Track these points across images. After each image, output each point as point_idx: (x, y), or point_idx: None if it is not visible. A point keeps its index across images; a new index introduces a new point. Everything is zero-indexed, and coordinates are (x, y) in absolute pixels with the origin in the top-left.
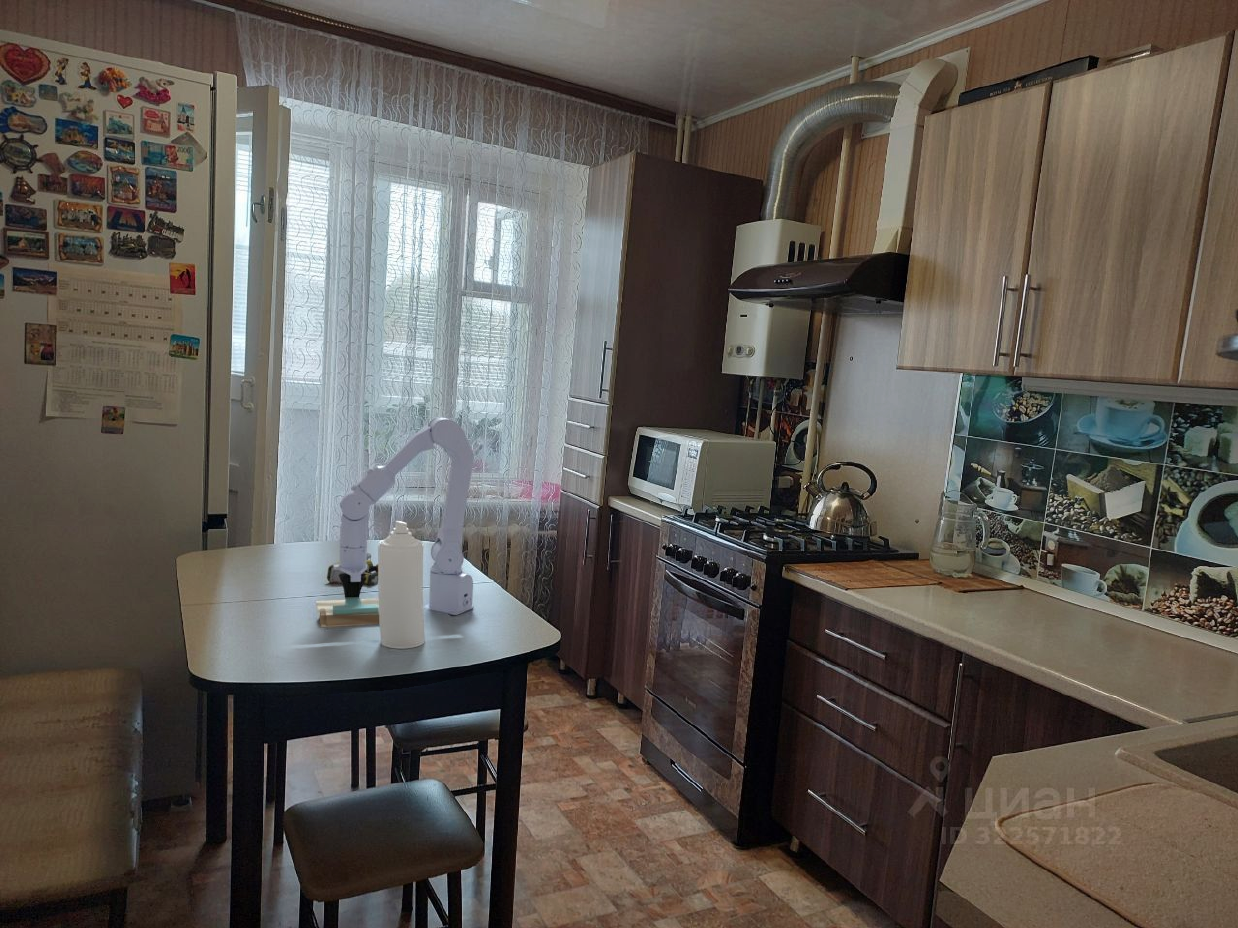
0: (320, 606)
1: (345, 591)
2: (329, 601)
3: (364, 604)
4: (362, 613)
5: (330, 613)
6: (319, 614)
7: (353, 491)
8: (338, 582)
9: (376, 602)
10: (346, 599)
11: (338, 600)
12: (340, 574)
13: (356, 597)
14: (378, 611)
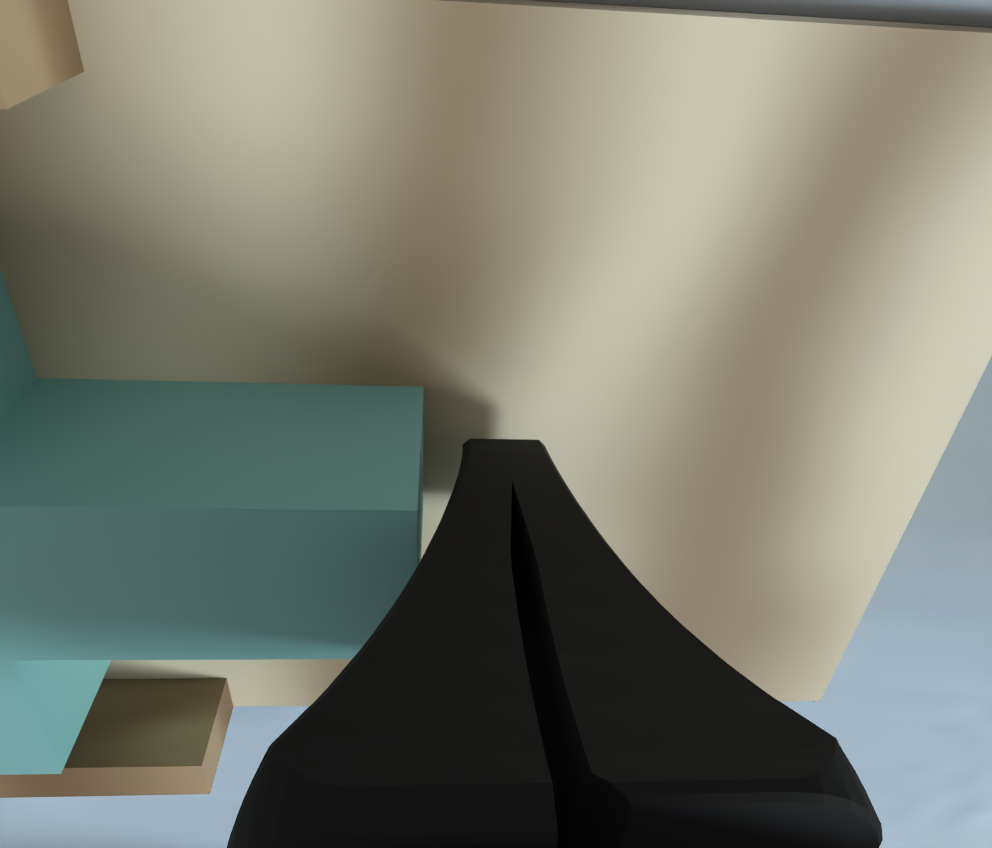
0: (780, 82)
1: (405, 592)
2: (985, 249)
3: (7, 676)
4: None
5: (322, 193)
6: (281, 4)
7: None
8: None
9: None
10: (300, 515)
11: (965, 364)
12: (769, 823)
13: None
14: (341, 660)
